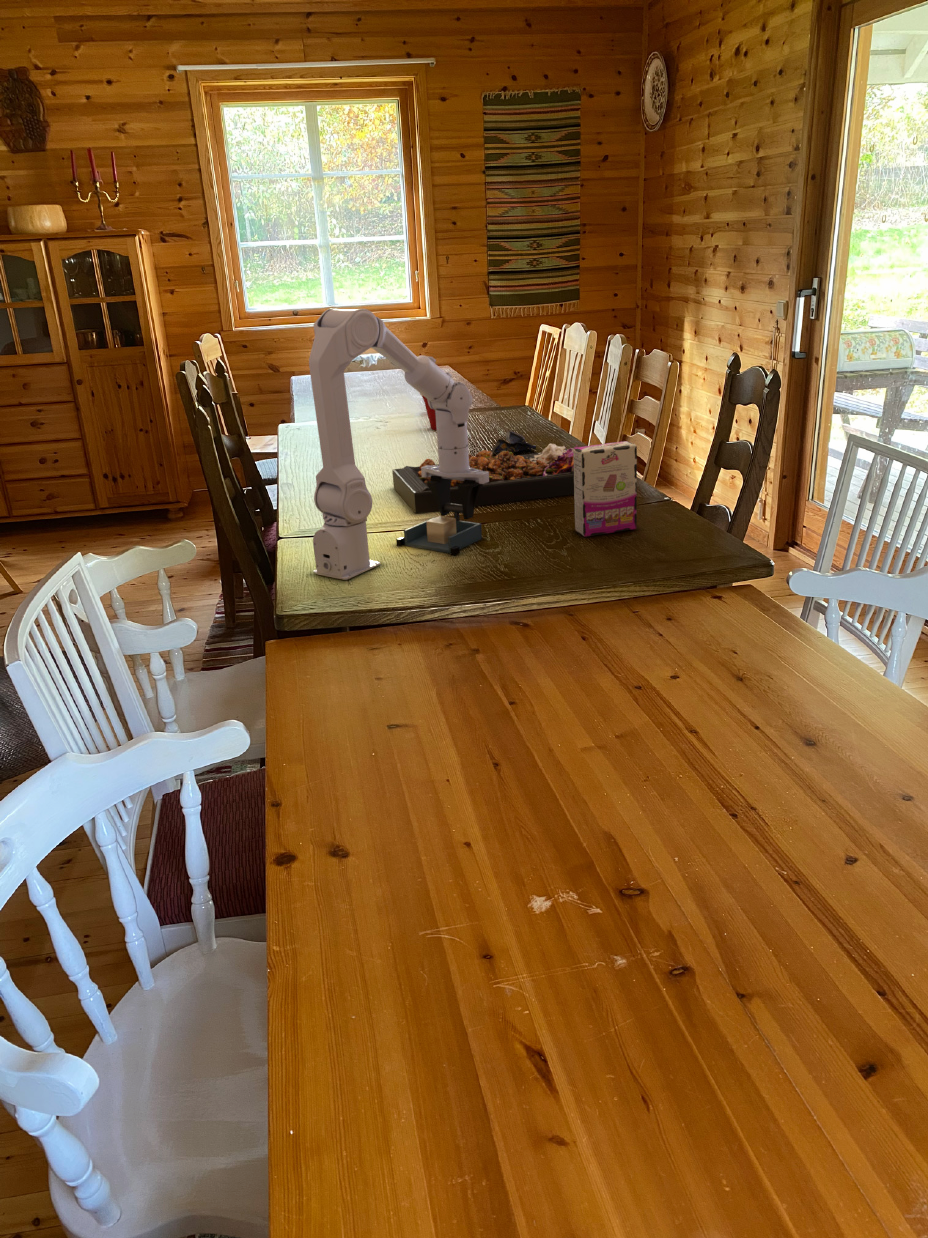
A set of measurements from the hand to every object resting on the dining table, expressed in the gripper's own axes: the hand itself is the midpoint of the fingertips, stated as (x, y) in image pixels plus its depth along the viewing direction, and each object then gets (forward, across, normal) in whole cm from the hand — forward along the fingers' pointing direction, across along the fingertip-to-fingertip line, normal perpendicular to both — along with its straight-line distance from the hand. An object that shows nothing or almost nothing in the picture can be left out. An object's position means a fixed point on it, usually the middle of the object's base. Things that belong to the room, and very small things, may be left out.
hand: (457, 516), depth 177 cm
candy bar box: (+4, -24, -15) cm, 29 cm away
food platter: (+4, +13, -34) cm, 37 cm away
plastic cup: (+4, +72, -90) cm, 116 cm away
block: (+3, 0, +5) cm, 6 cm away
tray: (+4, 0, +5) cm, 6 cm away
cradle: (+4, 0, +10) cm, 10 cm away
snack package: (+4, +31, -69) cm, 76 cm away
